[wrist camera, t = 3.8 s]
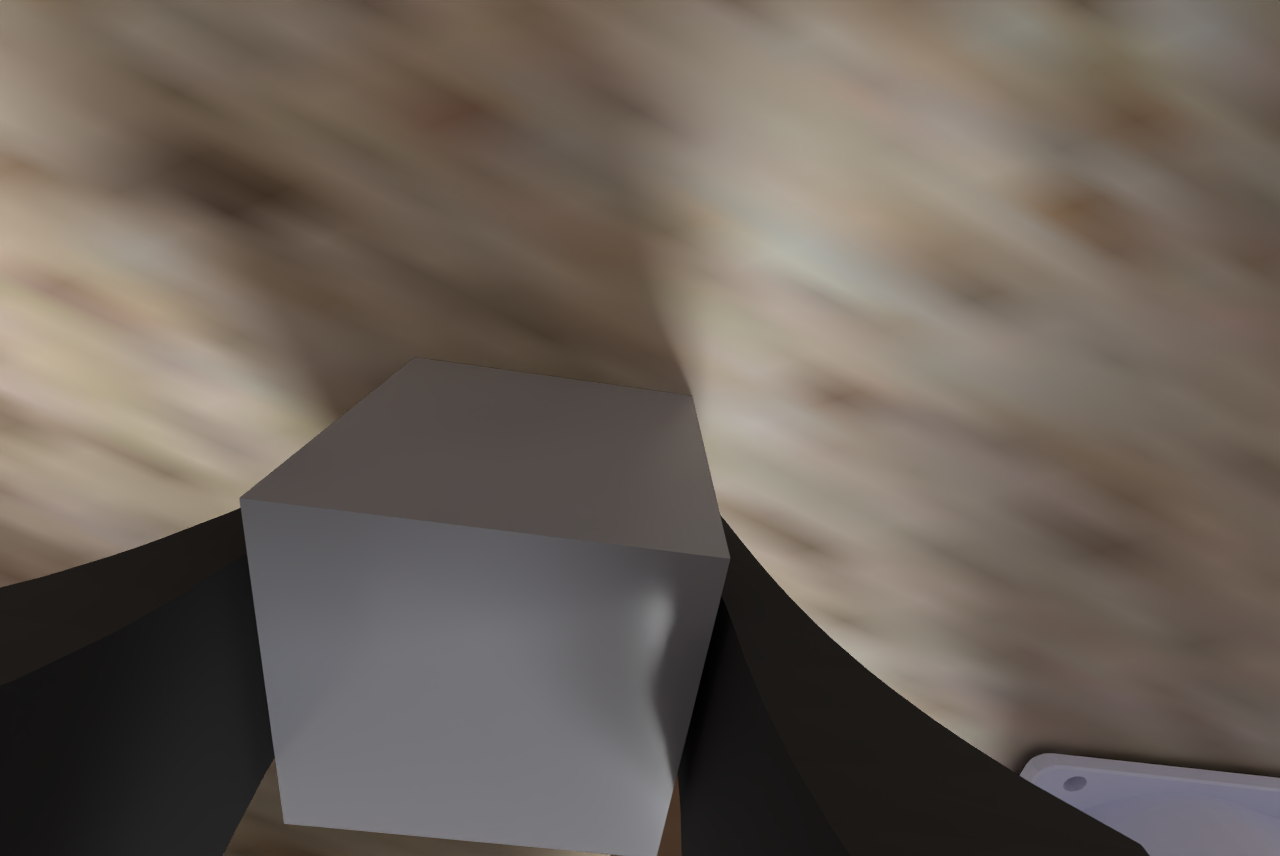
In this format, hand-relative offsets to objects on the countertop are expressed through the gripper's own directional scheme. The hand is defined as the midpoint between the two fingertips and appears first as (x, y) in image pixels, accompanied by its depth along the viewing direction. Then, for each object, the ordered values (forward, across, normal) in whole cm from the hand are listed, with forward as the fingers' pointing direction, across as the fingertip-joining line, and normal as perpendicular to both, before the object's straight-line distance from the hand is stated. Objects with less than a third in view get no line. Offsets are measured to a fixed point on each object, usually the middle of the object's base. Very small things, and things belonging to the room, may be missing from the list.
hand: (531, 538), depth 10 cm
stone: (+2, 0, 0) cm, 2 cm away
